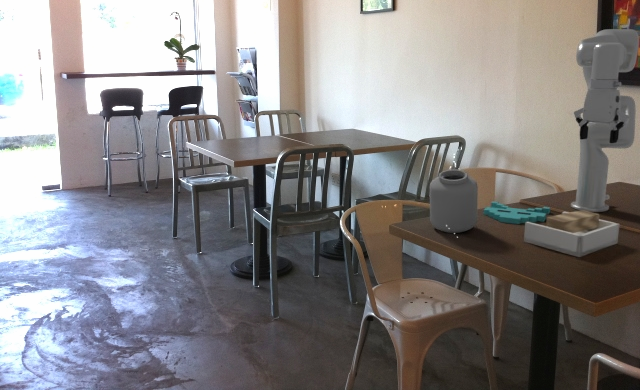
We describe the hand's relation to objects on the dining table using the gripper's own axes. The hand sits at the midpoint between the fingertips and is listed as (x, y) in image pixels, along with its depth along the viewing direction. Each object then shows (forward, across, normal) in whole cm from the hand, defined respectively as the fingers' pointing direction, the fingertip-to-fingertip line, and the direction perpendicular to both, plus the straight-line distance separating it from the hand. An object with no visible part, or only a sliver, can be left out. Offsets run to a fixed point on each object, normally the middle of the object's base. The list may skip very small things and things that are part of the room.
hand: (598, 140), depth 196 cm
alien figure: (+29, +24, +6) cm, 38 cm away
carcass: (+28, -4, +18) cm, 34 cm away
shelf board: (+24, -4, +18) cm, 30 cm away
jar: (+28, +26, +36) cm, 53 cm away
